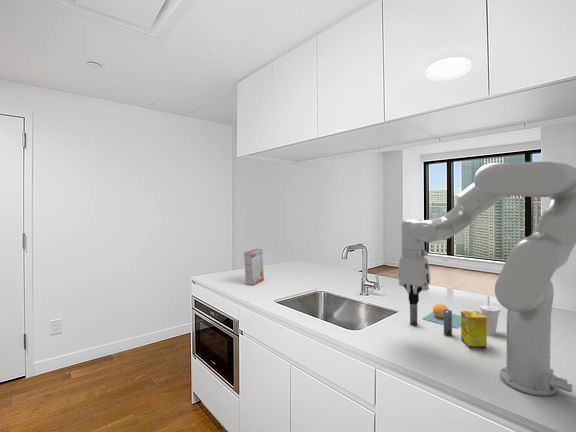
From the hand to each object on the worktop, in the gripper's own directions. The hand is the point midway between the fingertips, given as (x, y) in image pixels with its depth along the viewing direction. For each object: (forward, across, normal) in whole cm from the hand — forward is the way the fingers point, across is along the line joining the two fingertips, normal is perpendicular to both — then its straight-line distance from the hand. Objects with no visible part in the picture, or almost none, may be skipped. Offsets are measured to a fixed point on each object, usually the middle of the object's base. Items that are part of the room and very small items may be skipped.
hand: (413, 303), depth 113 cm
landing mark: (+13, 0, -28) cm, 31 cm away
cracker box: (+14, +110, -7) cm, 111 cm away
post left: (+13, +7, -13) cm, 20 cm away
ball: (+10, +2, -28) cm, 30 cm away
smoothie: (+14, -17, -25) cm, 33 cm away
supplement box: (+14, -16, -11) cm, 24 cm away
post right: (+13, -7, -13) cm, 20 cm away
